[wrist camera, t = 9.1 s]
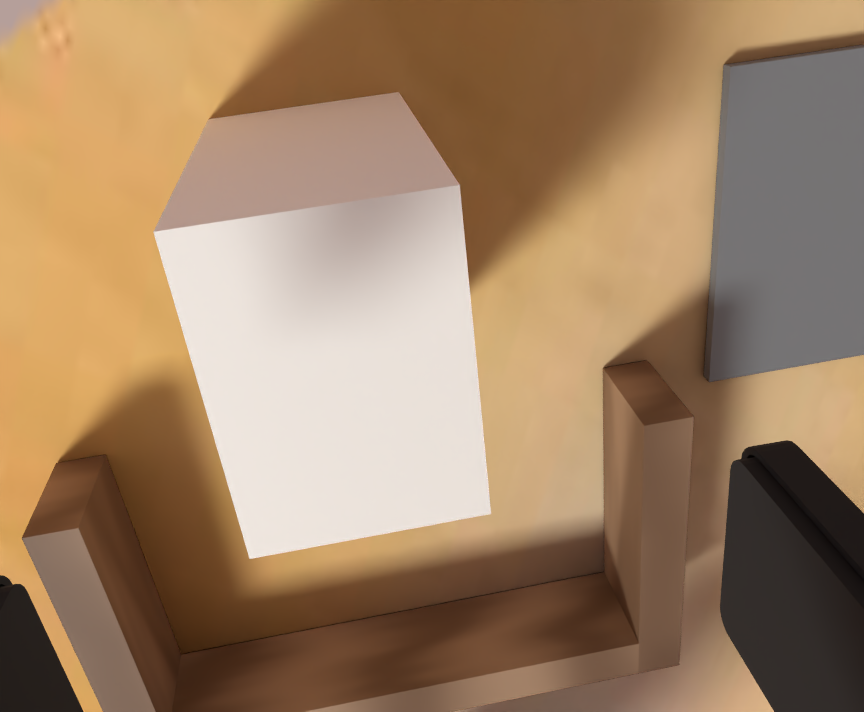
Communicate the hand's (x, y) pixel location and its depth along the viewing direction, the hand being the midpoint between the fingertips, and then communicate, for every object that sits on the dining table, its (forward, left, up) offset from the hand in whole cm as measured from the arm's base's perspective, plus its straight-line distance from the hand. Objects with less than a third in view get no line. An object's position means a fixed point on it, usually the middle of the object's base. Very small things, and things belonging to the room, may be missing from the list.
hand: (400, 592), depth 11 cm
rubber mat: (-15, +2, -14) cm, 20 cm away
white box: (0, 0, -14) cm, 14 cm away
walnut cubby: (0, +10, -14) cm, 17 cm away
